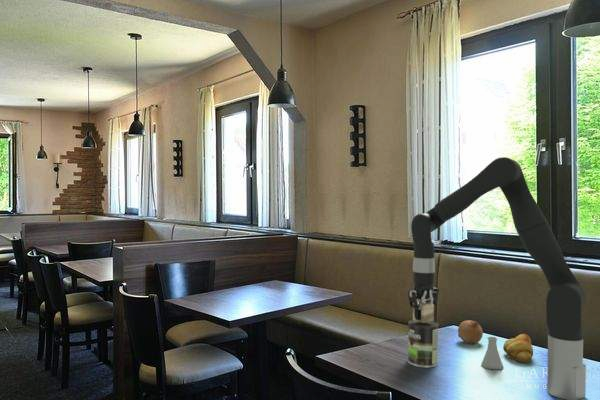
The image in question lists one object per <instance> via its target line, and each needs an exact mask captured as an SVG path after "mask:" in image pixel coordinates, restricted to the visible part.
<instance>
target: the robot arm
mask: <svg viewBox="0 0 600 400" xmlns="http://www.w3.org/2000/svg"><path fill="white" fill-rule="evenodd" d="M498 188H499V189H500V190H501V192H502V193H503V195H504V197H505V199H506V201H507V202H508V205H509V208H510V212H511V217H512V222H513V225H514V228H515V230H516V233H517V235H518V237H519V238H520V241H521V243H522V246H523V247H524V249H525V250H526V252H527V253H528V254H529V256H530V257H531V258H532V259H533V260H534V262H535V263H536V264H537V265H538V266H539V268H540V269H541V270H542V273H543V274H544V276H545V279H546V281H547V283H548V286H549V290H548V292H547V294H546V298H545V299H546V303H545V312H546V314H545V315H546V316H545V317H546V318H545V319H546V321H545V322H546V327H547V383H546V386H547V387H546V389H547V390H546V391H547V393H548V394H549V395H551V396H553V397H556V398H558V399H563V400H581V399H583V398H586V388H587V387H586V380H587V377H586V376H587V366H586V365H587V364H585V363H584V360H583V359H584V356H583V355H584V329H583V325H582V308H583V307H584V306H585V304H586V298H587V297H586V293H585V291H584V289H583V287H582V285H581V284H580V283H579V281H578V279H577V278H576V276H575V275H574V273H573V272H572V271H573V270H571V269H570V267H569V265H568V264H567V261H566V259H565V257H564V254H563V252H562V249H561V248H560V245H559V243H558V241H557V239H556V237H555V235H554V232H553V230H552V228H551V226H550V224H549V222H548V220H547V218H546V217H545V215H544V214H543V213H544V212H543V211H542V210H541V208H540V206H539V205H538V203H537V202H536V200H535V198H534V197H533V195H532V193H531V191H530V188H529V186H528V183H527V181H526V178H525V175H524V172H523V169H522V166H521V165H520V164H519V163H518V162H517V161H516V160H515V159H513V158H510V157H508V156H507V157H506V156H501V157H500V156H499V157H497V158H495V159H493V160H492V161H491V162H490V163H488V164H487V166H485V168H483V170H481V171H480V172H479V173H478V174H477V175H475V176H474V177H473V178H472V179H470V180H469V181H468V182H467V183H465V184H463V185H462V186H461V187H460V188H457V189H456V190H455V191H453V192H452V193H450V194H449V195H447V196H445V197H444V198H442V199H441V200H439V201H437V203H436V204H435V205H434V206H433V207H432V208H430V209H429V210H427V212H424V213H418V214H416V215H415V216H413V218H412V220H411V226H410V230H411V236H412V241H413V259H412V260H413V262H412V283H413V284H414V287H413V290H408V292H407V296H408V301H409V302H408V303H409V306H410V308H412V309H413V308H414V310H415V312H414V317H415V319H416V320H421V310H420V309H421V305H422V304H423V303H424V302H427V303H432V304H434V306H435V305H437V304H438V299H439V291H440V289H439V288H438V287H435V286H434V285H435V283H436V261H435V243H434V242H433V241H432V232H435V231H436V230H437V229H438V228H440V227H441V226H442V225H444V224H445V223H446V222H448V221H449V220H451V219H453V218H455V217H456V216H458V215H459V214H461V213H463V211H465V210H466V209H468V208H469V207H470V206H472V205H473V203H475V202H476V201H477V200H479V199H480V198H481V197H482V196H485V194H487V193H489V192H491V191H493V190H495V189H498ZM418 302H419V305H417V304H418ZM413 303H414V304H413Z"/></svg>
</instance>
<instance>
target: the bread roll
mask: <svg viewBox="0 0 600 400" xmlns="http://www.w3.org/2000/svg"><path fill="white" fill-rule="evenodd" d="M502 350H503V351H504V353H505V354H506V355H507V356H508V358H510V359H513V360H516V361H517V362H520V363H530V362H531V360H532V358H533V356H534V349H533V345H532V339H531V338H530V336H529V335H528V334H526V333H521V334H518V335H517V336H515V338H514V337H512V338H509V339H507V340H505V342H504V343H503V347H502Z"/></svg>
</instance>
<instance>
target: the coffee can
mask: <svg viewBox="0 0 600 400" xmlns="http://www.w3.org/2000/svg"><path fill="white" fill-rule="evenodd" d="M407 322H408V323H407V324H408V334H407V335H408V336H407V337H408V338H407V339H408V341H407V342H408V345H407V346H408V347H407V350H408V351H407V362H408V364H409V365H411V366H414V367H417V368H422V369H423V368H425V369H427V368H429V369H430V368H435V367H437V366H438V351H439V350H438V348H439V347H438V346H439V342H438V341H439V340H438V339H439V323H438V322H437V321H432V322H427V323H421V322H418V321H414V320H413V319H410V320H409V321H407Z"/></svg>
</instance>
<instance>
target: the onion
mask: <svg viewBox="0 0 600 400" xmlns="http://www.w3.org/2000/svg"><path fill="white" fill-rule="evenodd" d="M483 334H484V331H483V328H482V327H481V325H480V324H479V323H478V322H477V321H475V320H470V319H469V320H468V319H467V320H464V321H462V322H461V323H460V324H459V325H458V328H457V336H458V338H460V340H462V341H463V343H465V344H471V345H472V344H473V345H474V344H478V343H479V342H480V341H481V340H482V338H483Z"/></svg>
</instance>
